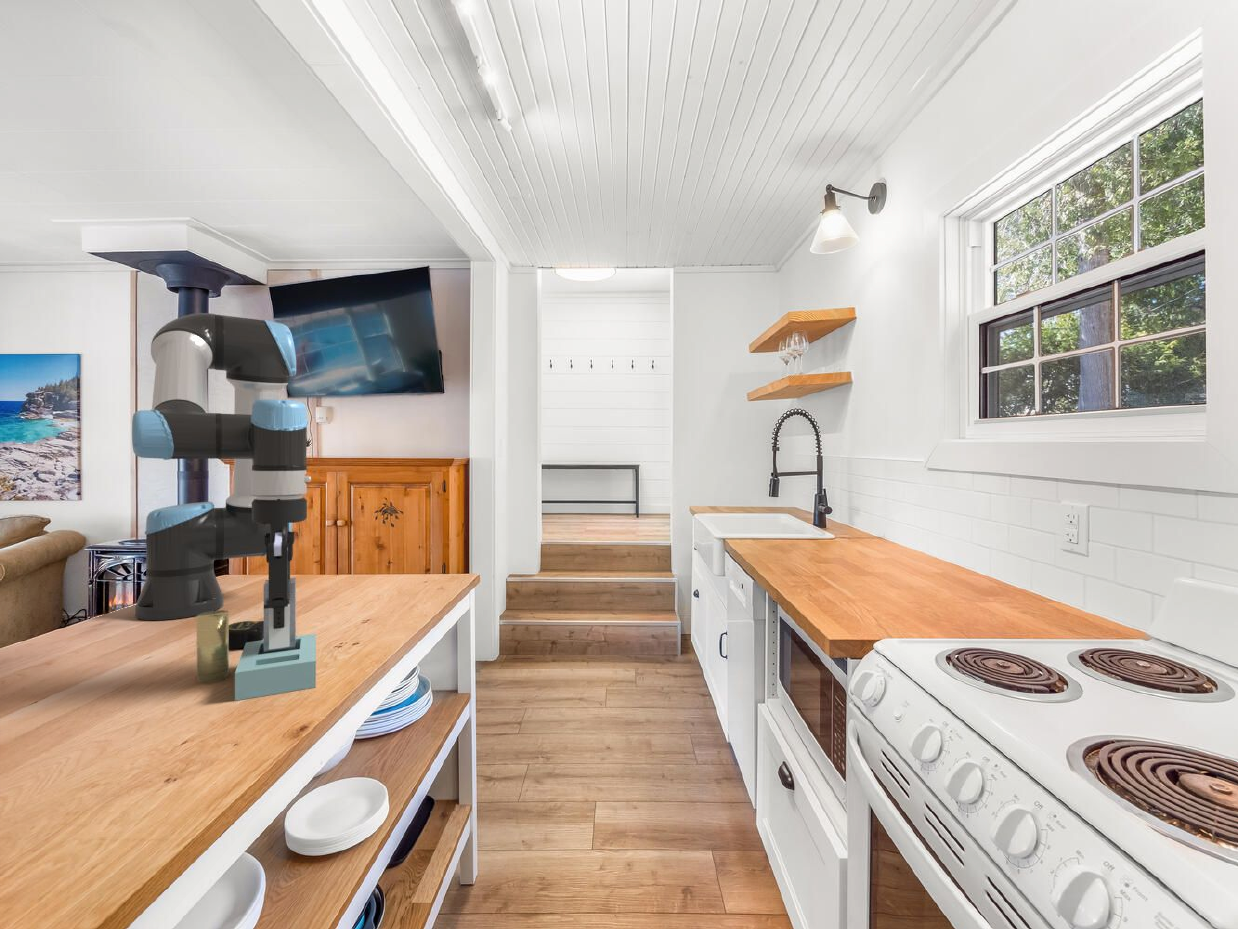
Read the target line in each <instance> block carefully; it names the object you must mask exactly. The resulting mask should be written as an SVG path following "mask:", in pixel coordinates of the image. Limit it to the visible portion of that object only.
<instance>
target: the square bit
mask: <svg viewBox="0 0 1238 929" xmlns="http://www.w3.org/2000/svg"><path fill="white" fill-rule="evenodd" d="M296 579H297V577H290V578H288V599H289V604H288V605H289V647H284V648H277V649H269V608H267V609H264V608H263V621H264V638H263V640H264V654H268V653H275V652H282V651H289V650H296V636H297V608H296V607H297V603H296V602H297V601H296V600H297V580H296ZM268 601H269V579H265V581H264V584H263V606H264V605H266V604H268Z"/></svg>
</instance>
